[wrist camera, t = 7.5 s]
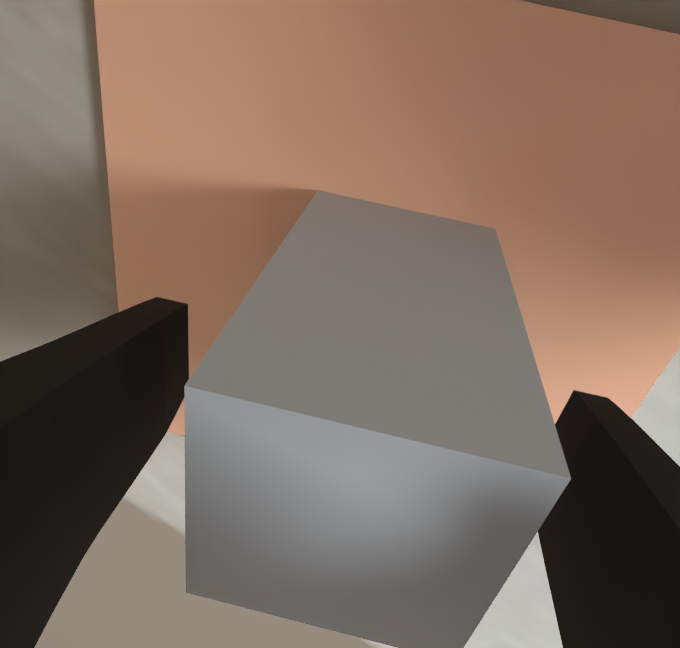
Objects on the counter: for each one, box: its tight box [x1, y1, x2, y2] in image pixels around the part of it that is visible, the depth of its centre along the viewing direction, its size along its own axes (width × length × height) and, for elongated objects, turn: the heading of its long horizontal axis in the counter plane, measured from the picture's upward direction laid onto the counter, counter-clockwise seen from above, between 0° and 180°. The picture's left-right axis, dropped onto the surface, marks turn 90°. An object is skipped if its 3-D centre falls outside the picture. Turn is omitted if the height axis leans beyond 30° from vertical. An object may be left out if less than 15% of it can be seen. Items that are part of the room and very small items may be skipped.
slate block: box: [184, 190, 571, 648], centre depth 9 cm, size 4×4×7 cm
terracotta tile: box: [94, 0, 680, 436], centre depth 12 cm, size 14×13×1 cm
